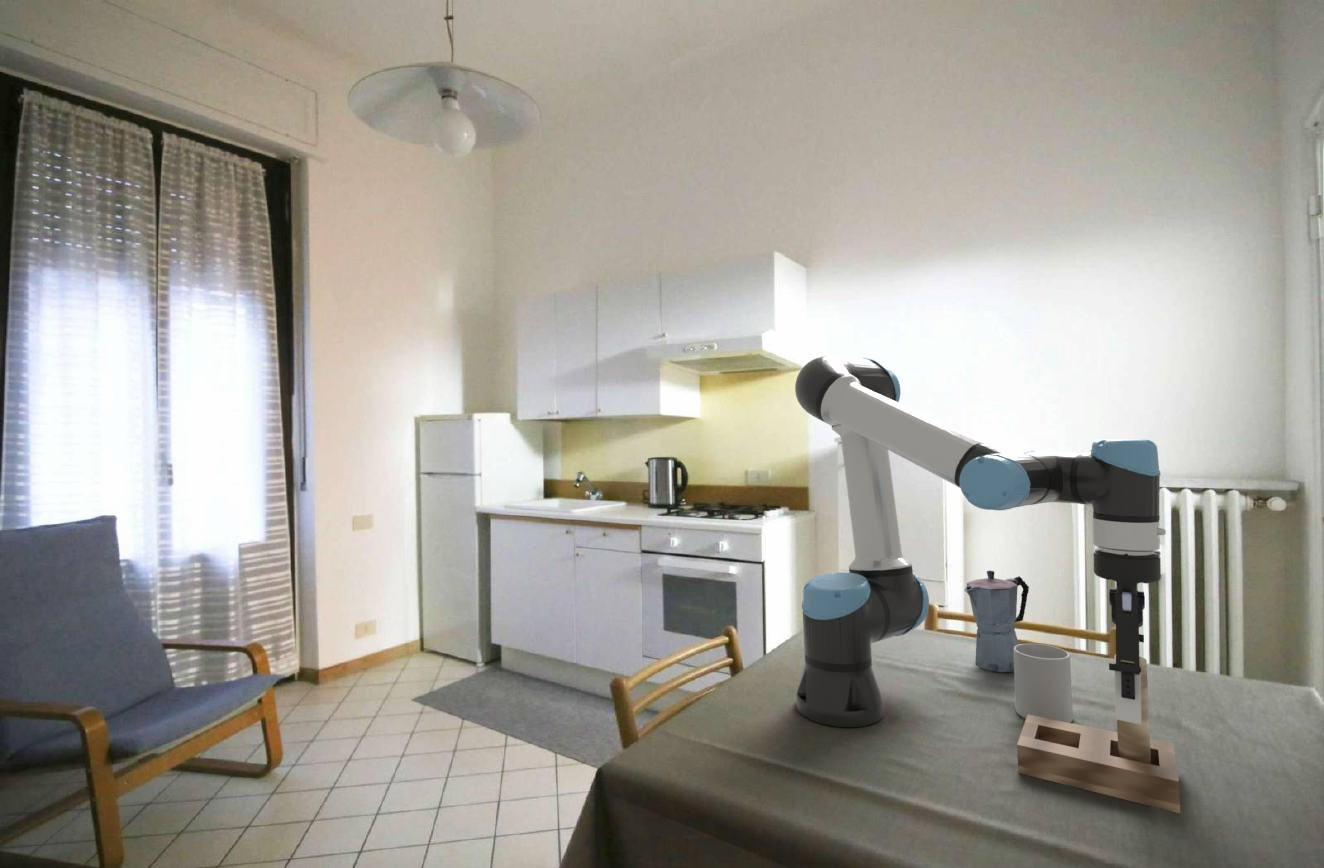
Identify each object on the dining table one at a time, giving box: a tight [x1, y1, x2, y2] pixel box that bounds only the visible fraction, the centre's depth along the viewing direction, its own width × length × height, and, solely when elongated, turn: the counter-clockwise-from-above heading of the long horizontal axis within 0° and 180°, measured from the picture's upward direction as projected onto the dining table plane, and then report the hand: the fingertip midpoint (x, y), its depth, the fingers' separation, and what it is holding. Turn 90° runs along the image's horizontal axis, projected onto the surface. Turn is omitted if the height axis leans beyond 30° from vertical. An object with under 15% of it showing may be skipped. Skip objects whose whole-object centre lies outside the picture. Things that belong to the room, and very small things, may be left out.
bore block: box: [1016, 714, 1181, 814], centre depth 90 cm, size 18×12×4 cm, turn 54°
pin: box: [1113, 654, 1151, 764], centre depth 87 cm, size 4×4×16 cm
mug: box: [1013, 643, 1074, 723], centre depth 111 cm, size 12×8×11 cm
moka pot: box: [964, 570, 1030, 673], centre depth 133 cm, size 10×15×20 cm, turn 107°
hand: (1128, 702), depth 88 cm, fingers open, 13 cm apart
